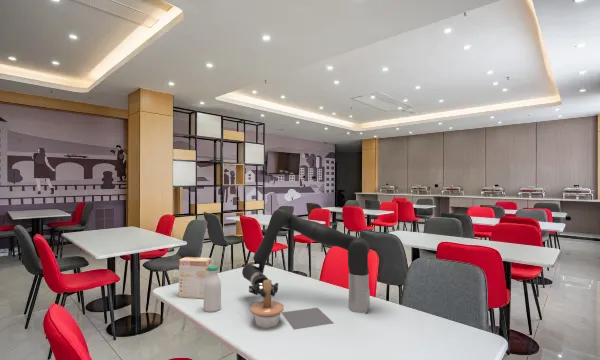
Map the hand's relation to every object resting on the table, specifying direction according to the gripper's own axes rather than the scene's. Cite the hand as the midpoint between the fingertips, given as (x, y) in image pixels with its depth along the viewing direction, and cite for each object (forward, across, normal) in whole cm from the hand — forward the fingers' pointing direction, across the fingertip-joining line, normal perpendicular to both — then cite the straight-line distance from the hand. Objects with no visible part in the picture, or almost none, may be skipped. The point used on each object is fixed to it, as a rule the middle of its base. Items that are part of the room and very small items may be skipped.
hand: (269, 294), depth 133 cm
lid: (-3, 0, +7) cm, 8 cm away
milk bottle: (-26, -20, +14) cm, 36 cm away
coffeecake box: (-47, -28, +14) cm, 56 cm away
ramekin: (-3, 0, +14) cm, 14 cm away
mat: (-2, +18, +13) cm, 22 cm away
